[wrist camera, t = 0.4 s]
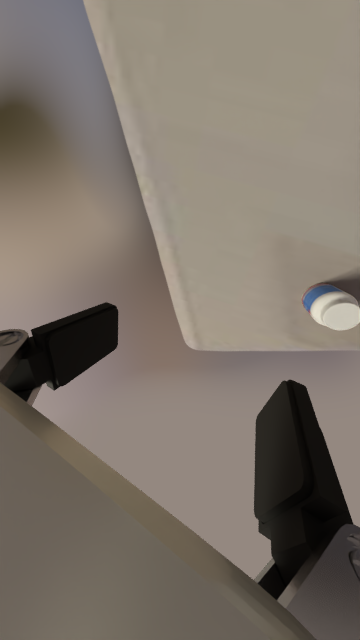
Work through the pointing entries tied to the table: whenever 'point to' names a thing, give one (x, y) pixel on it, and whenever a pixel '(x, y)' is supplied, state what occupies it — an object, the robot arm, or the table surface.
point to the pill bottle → (331, 306)
